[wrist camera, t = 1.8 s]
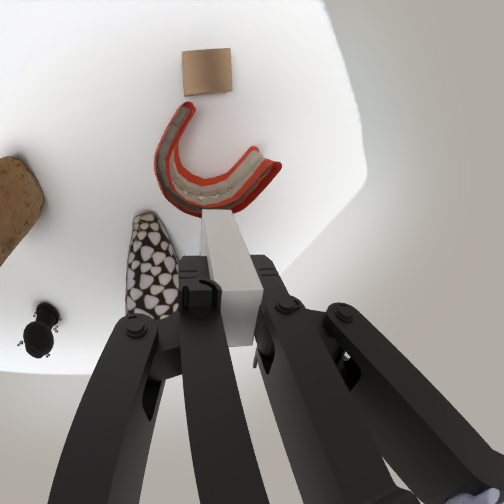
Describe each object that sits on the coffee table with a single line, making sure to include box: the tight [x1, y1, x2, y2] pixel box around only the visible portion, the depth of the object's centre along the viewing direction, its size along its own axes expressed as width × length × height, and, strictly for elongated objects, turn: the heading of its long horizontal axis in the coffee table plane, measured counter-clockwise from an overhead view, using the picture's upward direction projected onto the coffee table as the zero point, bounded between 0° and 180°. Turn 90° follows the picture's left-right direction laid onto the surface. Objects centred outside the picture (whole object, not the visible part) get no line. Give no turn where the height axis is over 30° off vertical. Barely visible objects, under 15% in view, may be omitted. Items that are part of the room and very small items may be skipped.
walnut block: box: [182, 48, 232, 96], centre depth 25 cm, size 5×5×5 cm
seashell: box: [125, 214, 179, 320], centre depth 35 cm, size 16×13×10 cm
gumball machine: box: [17, 303, 61, 358], centre depth 34 cm, size 7×6×10 cm
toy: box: [154, 101, 282, 218], centre depth 30 cm, size 12×10×8 cm
